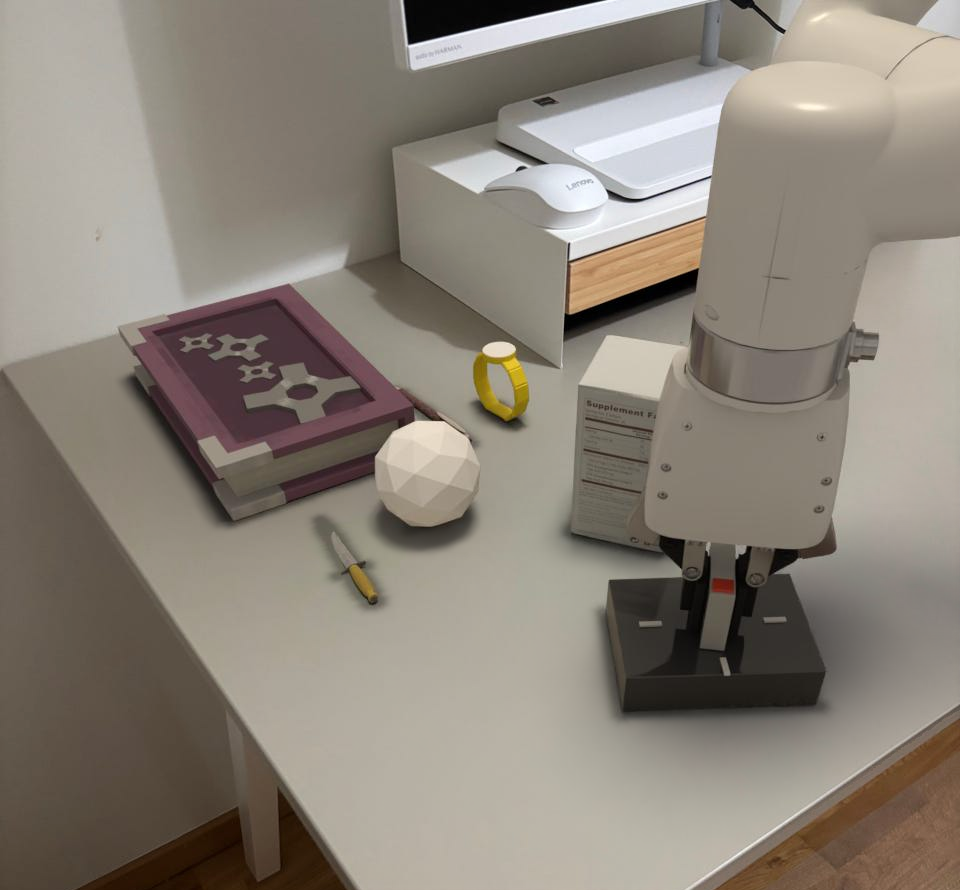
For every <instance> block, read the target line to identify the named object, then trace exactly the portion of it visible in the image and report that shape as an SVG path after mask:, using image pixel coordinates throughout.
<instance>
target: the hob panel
mask: <svg viewBox="0 0 960 890" xmlns="http://www.w3.org/2000/svg"><path fill="white" fill-rule="evenodd" d="M792 578H793V577H792V576H791V573H774V574H772V575H770V576H768V578H767V581H766V583H765V584H764V585H763V586H761V587H758V591H757V595H756V600H755V604H754V609H753V613H752V617H744V616H742V617H741V622H740V626H739V631H738V635H737V636H735V635H729V633H728V636H727V641H726V645H725V650H724V651H720V650H711V649H702V648H700V630H699V629H698V631H689V622H690V611H686V610H680V599H681V591H682V584H683V576H678V577H674V576H673V577H649V578H647V577H645V578H619V579H617V578H616V579H615V578H614V579H608V582H607V593H606V602H605V603H606V604H605V606H606V607H605V617H606V623H607V628H608V635H609V641H610V646H611V650H612V651H611V652H612V657H613V663H614V669H615V675H616V683H617V687H618V692H619V693H618V694H619V699H620V705H621V710H622V711H623V712H635V711H637V712H638V711H660V710H661V711H663V710H664V711H665V710H666V711H667V710H687V709H688V710H691V709H695V710H696V709H720V708H721V709H723V708H745V707H746V708H750V707H751V708H752V707H754V708H755V707H781V706H782V707H783V706H808V705H810V706H811V705H817V703H818V700H819V696H820V693H821V690H822V688H823V685H824V680H825V678H826V675H827V669H826V666H825V664H824V660H823V657H822V655H821V652H820V650H819V648H818V645H817V642H816V639H815V637H814V634H813V632H812V628H811V626H810V624H809V620H808V619H807V616H806V613H805V610H804V608H803V605H802V602H801V600H800V597H799V594H798V591H797V589H796V587H795V586H796V585H795V584H794V581H793V579H792Z"/></svg>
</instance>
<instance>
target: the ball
mask: <svg viewBox="0 0 960 890" xmlns="http://www.w3.org/2000/svg"><path fill="white" fill-rule="evenodd" d="M480 479H481V465H480V462H479V460H478V457H477V455H476V452H475V450H474V448H473V446H472V442H470V441H469V439H468V438H467V437H466V436H464V435H463V434H461V433H460V432H459V431H457V430H456V429H454V428H453V427H451V426H450V425H449V424H447V423H446V422H444V421H433V420H415V422H413V423H411V424H408V425H406V426H404V427H402V428H400V429H398V430H396V431H393V432H392V434H391V435H390V437H389V438H388V439H387V441H386V442H385V444H384V445H383V447H382V448H381V449H380V451H379V452H378V454H377V455H376V456H375V472H374V483H375V487H376V491H377V493H378V495H379V497H380V498H381V500H382V503H383V504H384V506H385V508H386V510H387V511H389V512H390V513H392V514H393V515H395V516H396V517H398V518H399V519H400V520H401V521H403V522H404V523H405V524H407V525H409V526H410V527H429V528H431V527H437V526H441V525H443V524H445V523H449V522H451V521H454V520H457V519H460V518H462V517H463V516H464V514H465V513H466V511H467V510H468V508H469V506H470V505H471V503H472V502H473V500H474V499H475V497H476V496H477V494H478V493H479V491H480V490H479V489H480Z"/></svg>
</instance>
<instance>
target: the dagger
mask: <svg viewBox="0 0 960 890" xmlns="http://www.w3.org/2000/svg"><path fill="white" fill-rule="evenodd" d="M330 537H331V543H332V546H333V549H334V551H335V553H336V554H337V556H338V558H339V560H340V562H341V563H342V565H343V567H344V568H345V569H344V570H342V571H341V572H340V575H341V576H342V575H345V574H350V576H351V578H352V580H353V581H354V583H355V584H356V586H357V587H358V589H359V590H360V592H361V593H362V594H363V595H364V596H365V597H366V598H367V599H368V601H369V602H370V603H376V602H377V601H378V600H379V595H378V593H376V589H375V588H374V586H373V584H372V582H371V581H370V579H369V578H368V576H367V575H366V573H365V572H364V571H363V570H362V568H363V567H364V566H365V565H367V562H366V560H362V561H359V562H358V561H357V560H356V559H355V558H354V556H353V555H352V554H351V552H350V551H349V549H348V548H347V546H346V545H345V544H344V543H343V541H342V540H341V539H340V537H339V535H338V534H337V533H336V532H335V531H332V532H331V534H330Z"/></svg>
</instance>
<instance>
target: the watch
mask: <svg viewBox="0 0 960 890" xmlns="http://www.w3.org/2000/svg"><path fill="white" fill-rule="evenodd" d="M488 364H490V365H491V364H492V365H501V366H502V368H503V369H504V370H505V372H506V373H507V376H508V379H509V381H510V383H511V386H512V389H513V399H514V404H513V408H510V407H508V406H506V405H505V404H503V403H501V402H499V399H498V398H497V397H496V395H495V393H494V391H493V390H492V387H491V383H490V381H489V380H490V379H489V376H488ZM472 379H473V384H474V387H475V391H476V394H477V396H478V398H479V400H480V402H481V405H482V406H483V407H484V410H487V411H489V412H490V413H492V414H494V415H495V416H498V417H499V418H501V419H503V421H504V422H508V421H511V420H513V419H516V418H518V417H520V416H521V415H523V414H525V412H526V411H527V408H528V405H529V403H530V390H529V389H530V388H529V383H528V378H527V376H526V374H525V371H524V368H523V366H522V364H521V363H520V361H518V359H517V348H516V346H515V345H513V344H512V343H510V342H506V341H494V342H489V343H487V344H486V345H484V346H483V348H482V350H481V352H479V353H478V354H477V355H476V357H475V360H474V362H473V365H472Z"/></svg>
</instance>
